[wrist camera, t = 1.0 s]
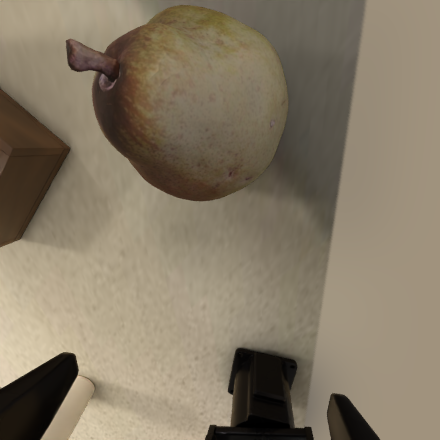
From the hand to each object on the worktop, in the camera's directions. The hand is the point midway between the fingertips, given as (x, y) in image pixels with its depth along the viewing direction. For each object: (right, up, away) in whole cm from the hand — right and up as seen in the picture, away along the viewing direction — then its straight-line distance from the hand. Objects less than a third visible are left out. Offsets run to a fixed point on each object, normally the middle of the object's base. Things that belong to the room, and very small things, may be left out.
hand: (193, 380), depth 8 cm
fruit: (+1, +13, +10) cm, 17 cm away
